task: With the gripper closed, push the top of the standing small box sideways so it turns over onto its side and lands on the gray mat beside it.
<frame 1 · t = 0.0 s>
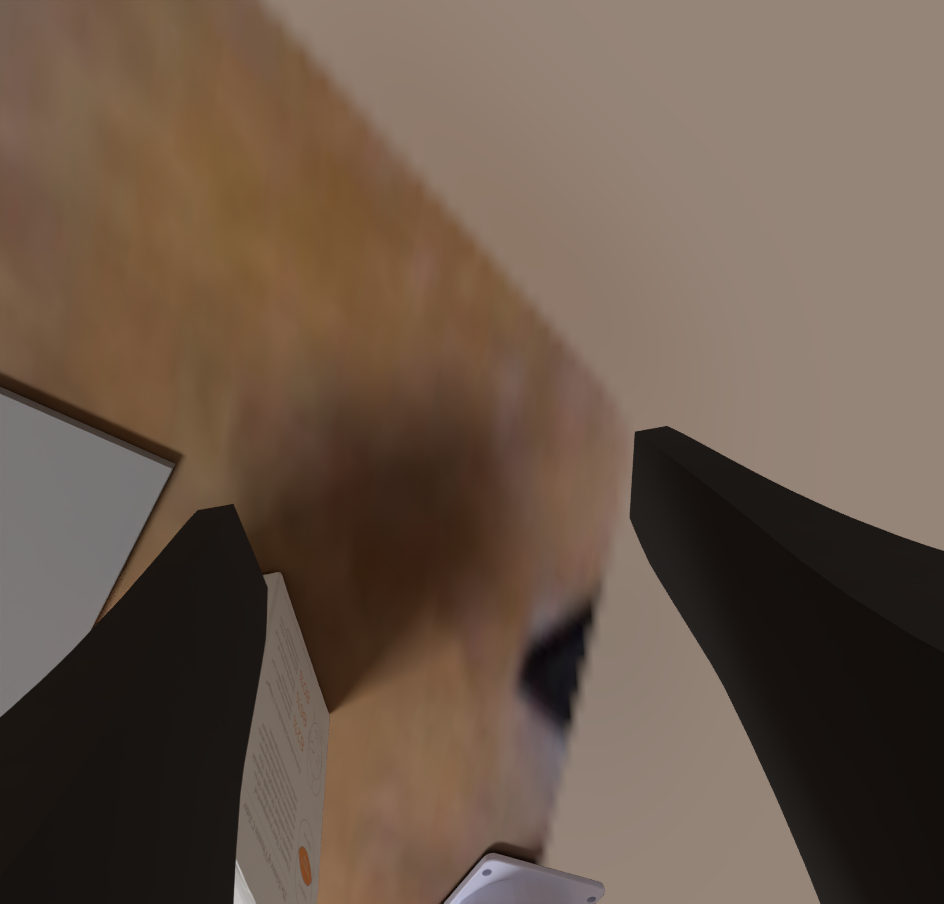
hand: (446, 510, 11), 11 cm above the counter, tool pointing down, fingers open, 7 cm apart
small box: (242, 657, 25), on the counter
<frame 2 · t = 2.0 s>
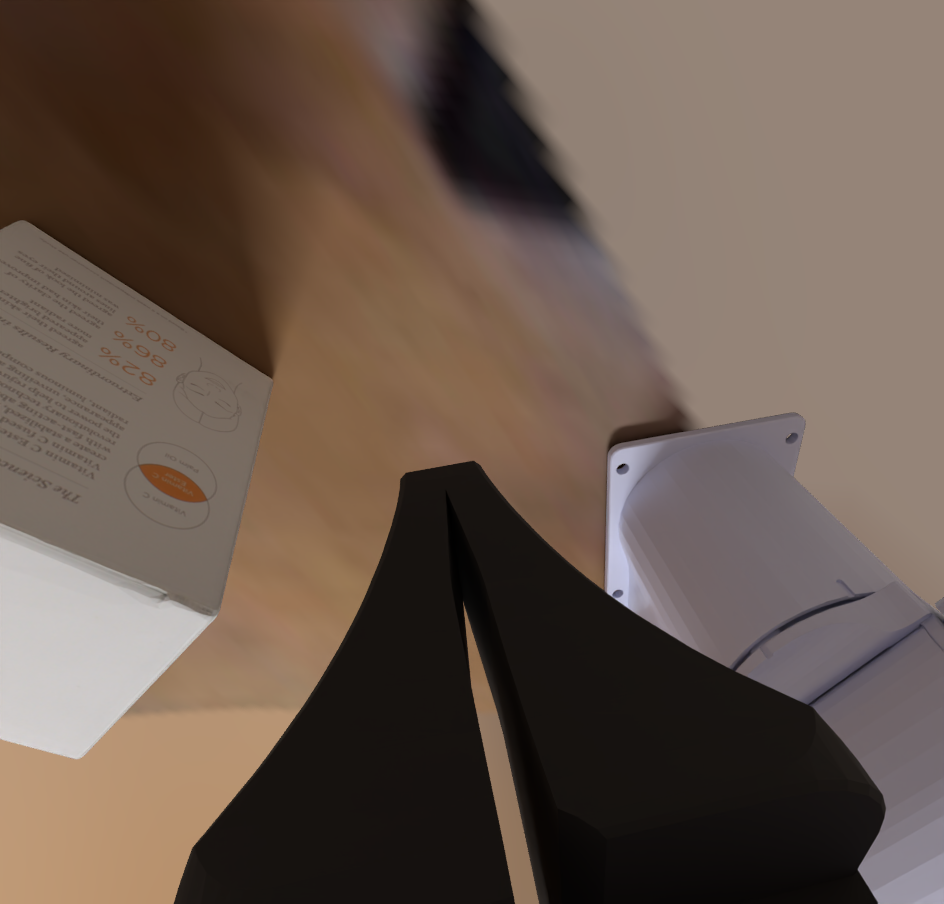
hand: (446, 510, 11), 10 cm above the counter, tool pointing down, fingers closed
small box: (122, 366, 19), on the counter
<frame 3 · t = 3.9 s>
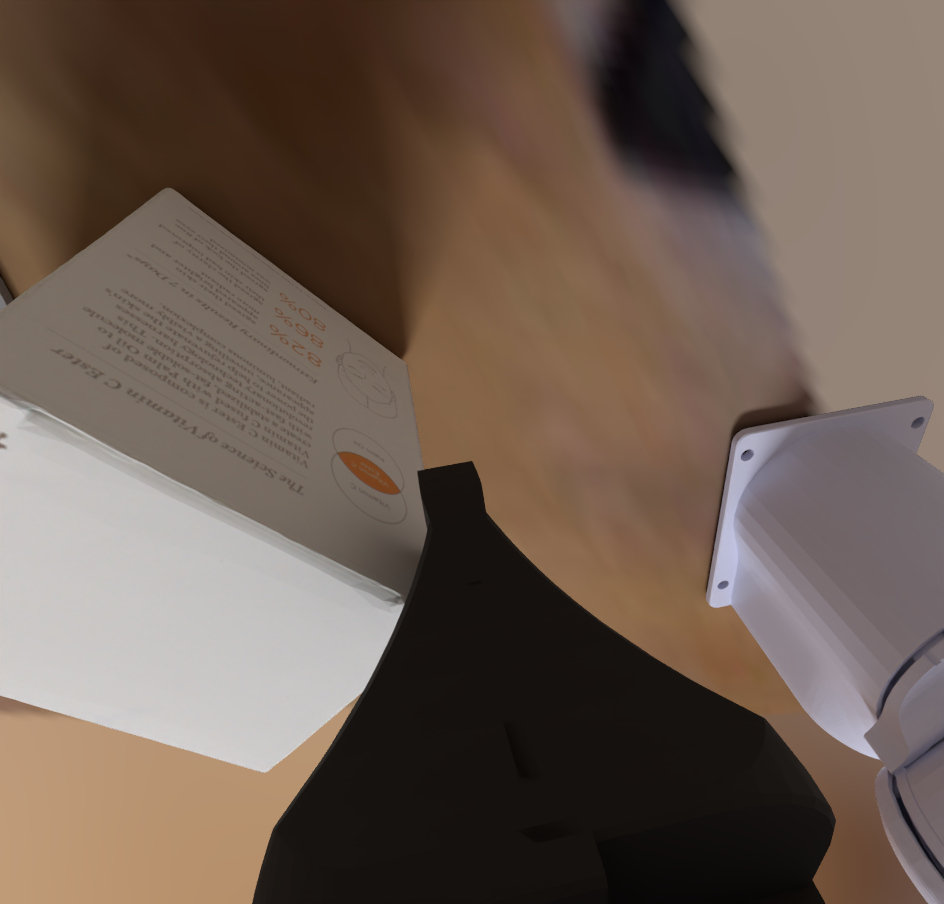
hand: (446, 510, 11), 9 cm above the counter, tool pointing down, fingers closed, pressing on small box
small box: (251, 348, 18), on the counter, touching gripper
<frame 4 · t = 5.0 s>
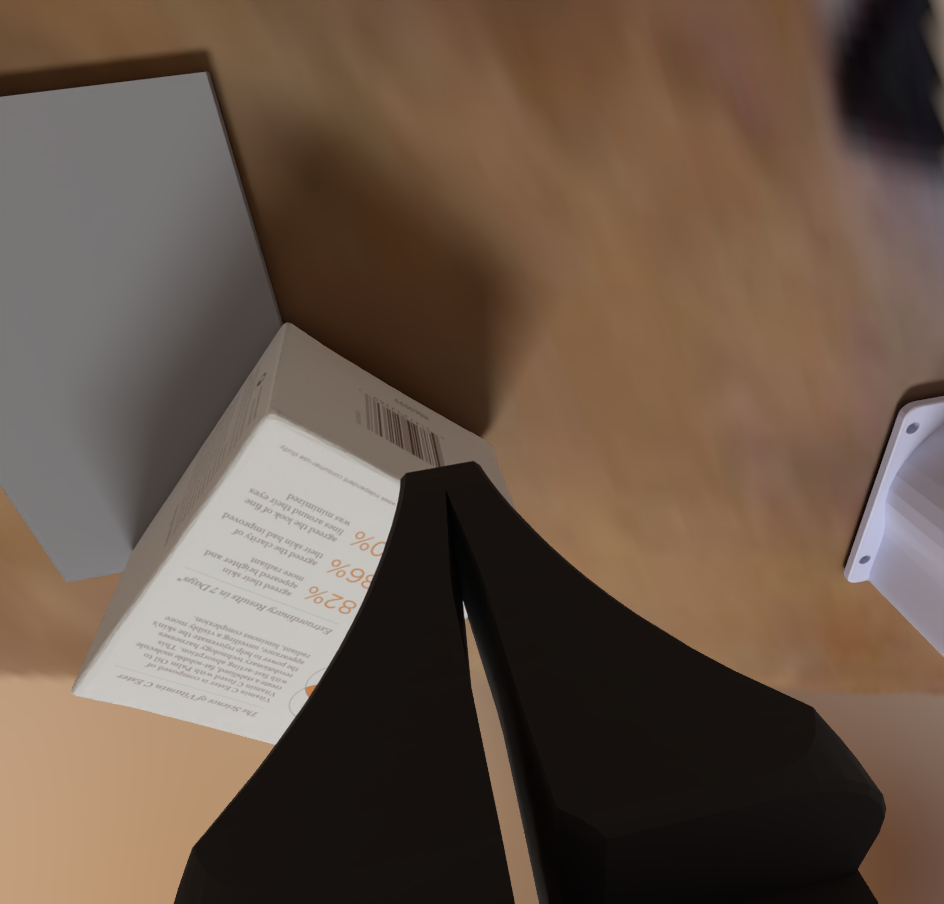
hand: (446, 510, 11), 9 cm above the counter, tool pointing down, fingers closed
gray mat: (125, 373, 18), on the counter
small box: (414, 426, 17), point 3 cm above the counter, touching gray mat
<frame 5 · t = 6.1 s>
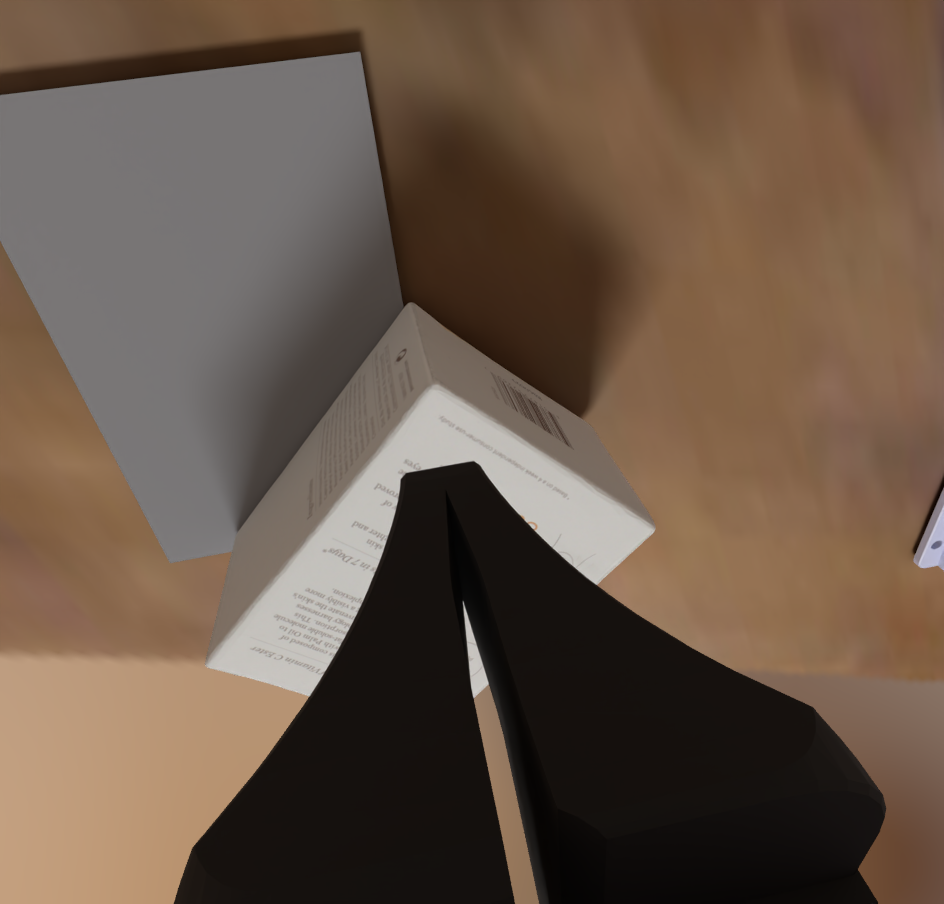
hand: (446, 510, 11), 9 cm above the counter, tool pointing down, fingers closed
gray mat: (247, 353, 18), on the counter
small box: (540, 403, 17), point 3 cm above the counter, touching gray mat
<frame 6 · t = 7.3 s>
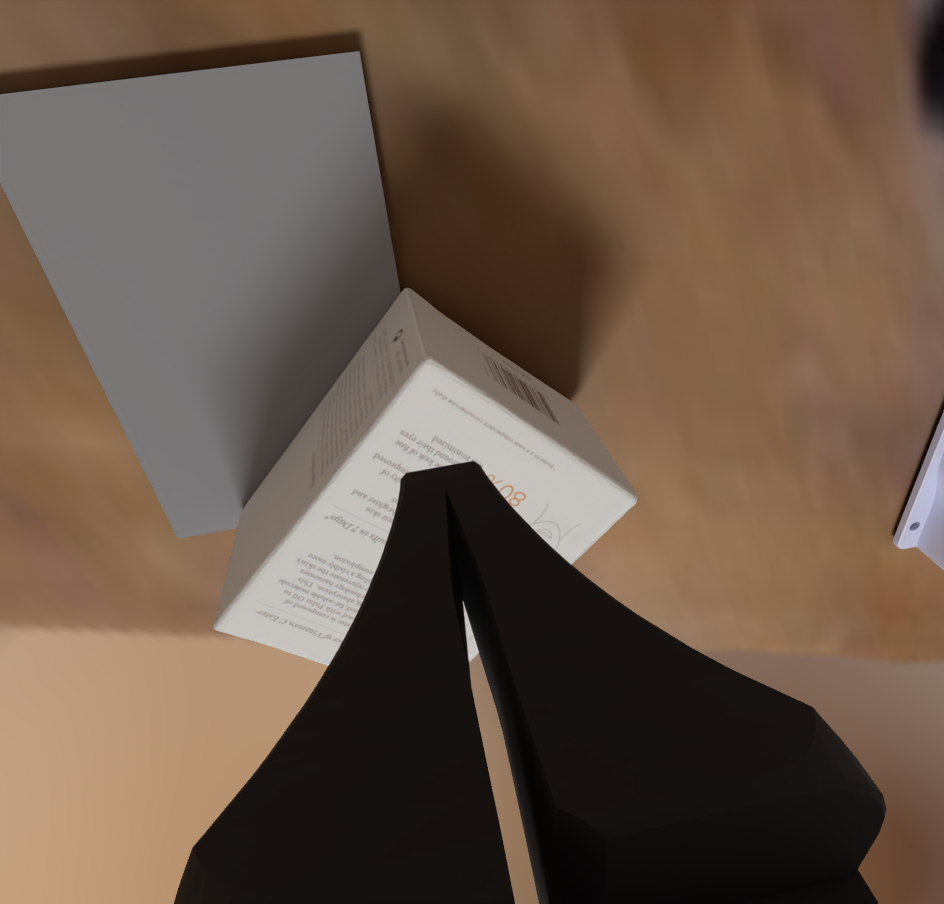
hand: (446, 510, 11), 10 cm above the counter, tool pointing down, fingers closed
gray mat: (253, 336, 19), on the counter
small box: (529, 382, 18), point 3 cm above the counter, touching gray mat
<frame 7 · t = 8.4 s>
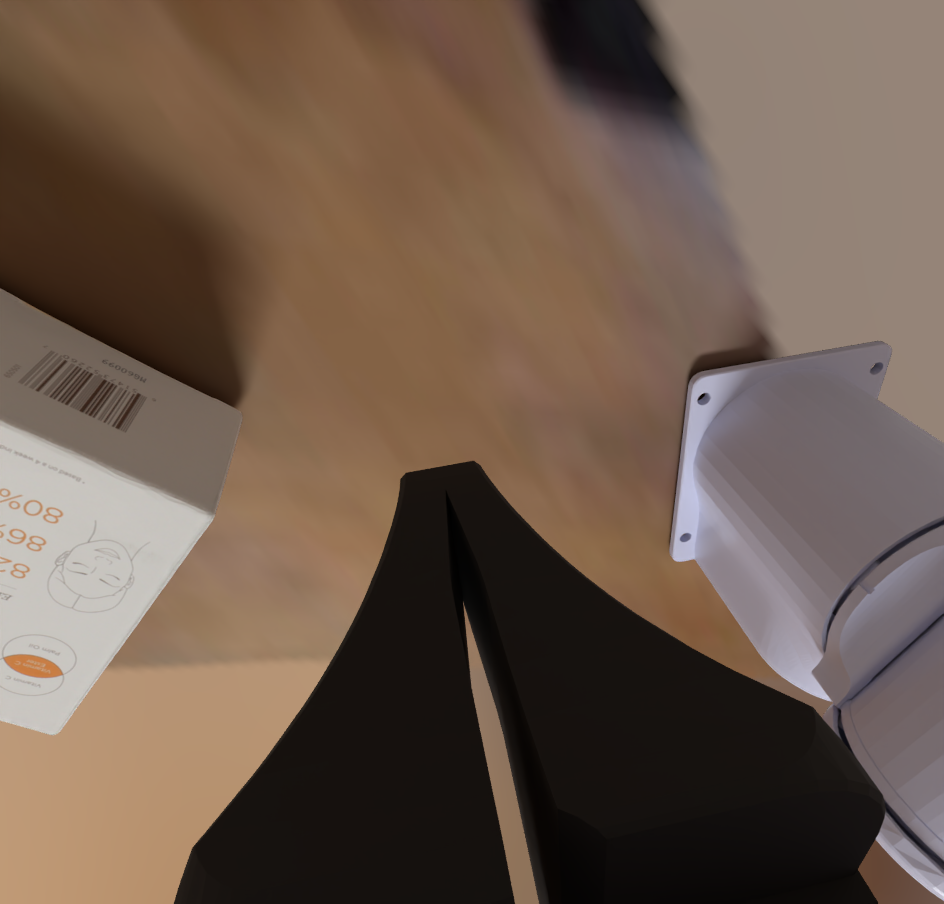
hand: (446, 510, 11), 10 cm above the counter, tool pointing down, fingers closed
small box: (100, 384, 16), point 3 cm above the counter, touching gray mat
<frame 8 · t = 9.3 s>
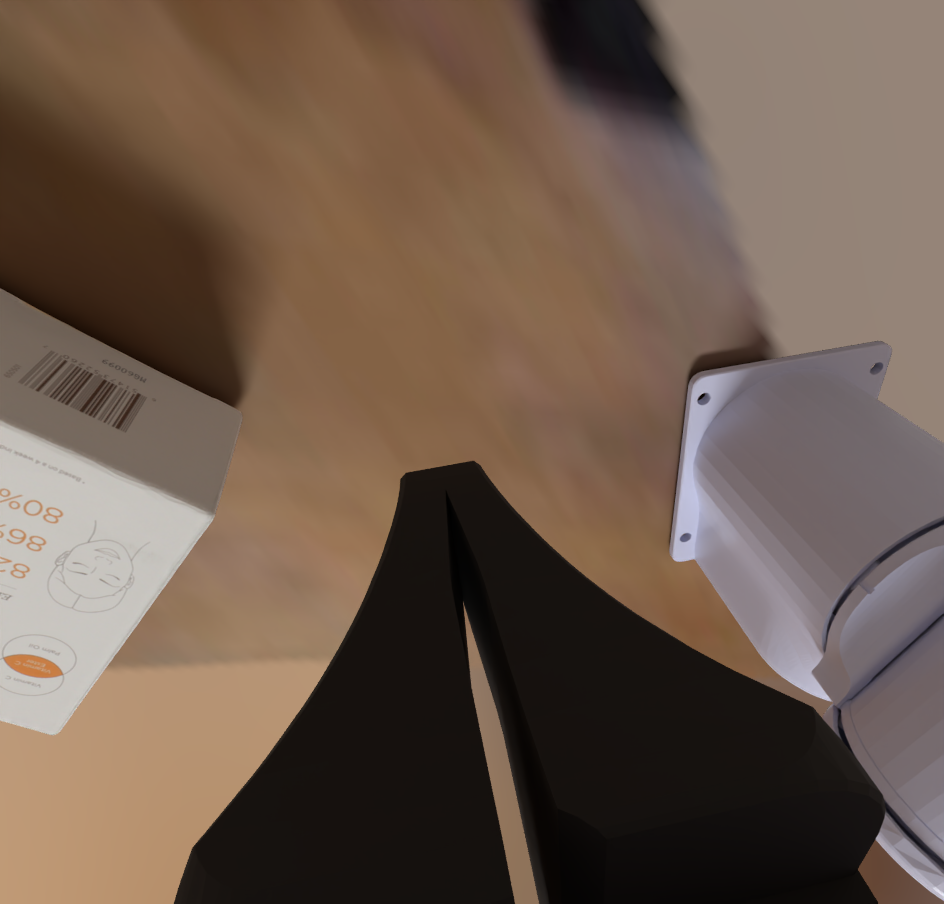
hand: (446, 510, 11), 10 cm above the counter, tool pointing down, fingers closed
small box: (100, 384, 16), point 3 cm above the counter, touching gray mat
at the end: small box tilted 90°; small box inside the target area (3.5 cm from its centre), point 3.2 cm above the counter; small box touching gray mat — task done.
